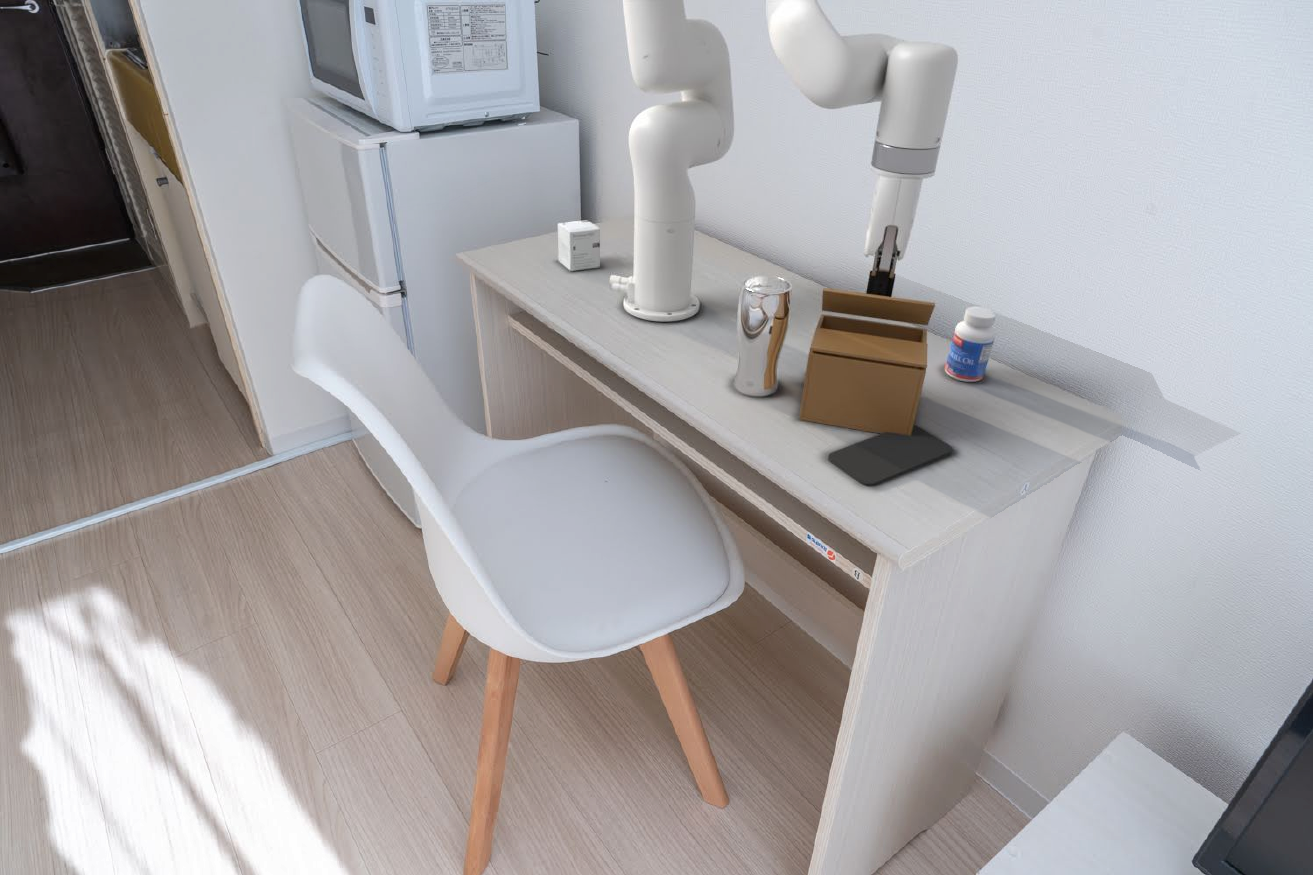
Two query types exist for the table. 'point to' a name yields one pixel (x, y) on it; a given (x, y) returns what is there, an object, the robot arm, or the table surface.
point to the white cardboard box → (579, 245)
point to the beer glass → (761, 332)
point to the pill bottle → (971, 345)
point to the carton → (864, 375)
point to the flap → (877, 306)
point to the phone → (889, 455)
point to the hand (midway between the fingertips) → (877, 302)
